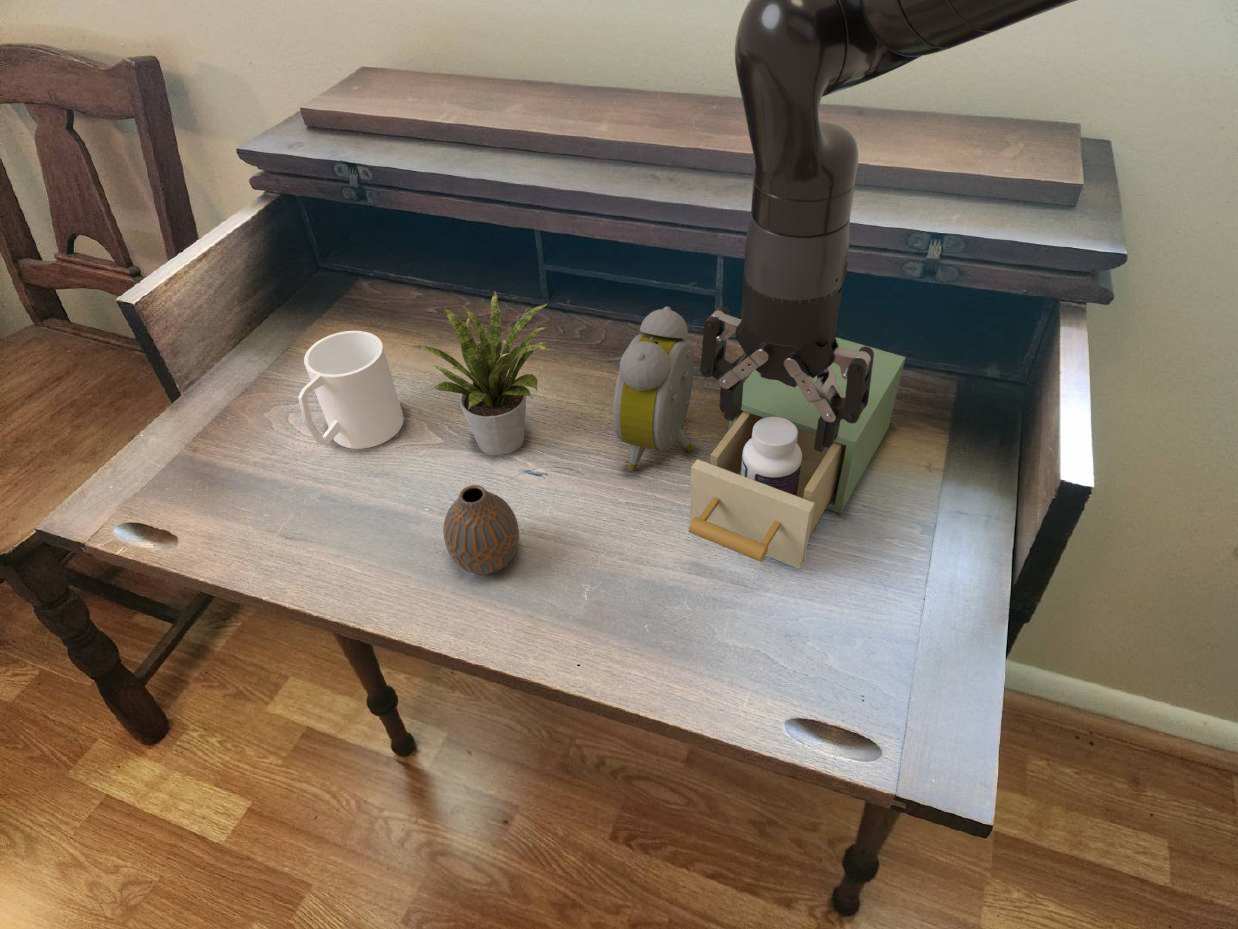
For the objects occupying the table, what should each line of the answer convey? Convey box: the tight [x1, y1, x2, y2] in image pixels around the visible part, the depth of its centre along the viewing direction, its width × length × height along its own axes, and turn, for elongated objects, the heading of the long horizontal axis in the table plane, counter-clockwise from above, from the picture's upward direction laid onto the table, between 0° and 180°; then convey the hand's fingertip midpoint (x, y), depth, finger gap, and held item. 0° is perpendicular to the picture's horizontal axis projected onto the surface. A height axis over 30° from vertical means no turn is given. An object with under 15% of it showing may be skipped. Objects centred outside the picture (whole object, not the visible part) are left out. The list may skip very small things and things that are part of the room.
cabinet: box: [727, 336, 906, 515], centre depth 85 cm, size 15×13×10 cm
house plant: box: [411, 290, 553, 456], centre depth 86 cm, size 14×14×16 cm
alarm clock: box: [612, 306, 695, 472], centre depth 85 cm, size 12×7×15 cm, turn 160°
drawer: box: [688, 411, 846, 570], centre depth 78 cm, size 18×11×8 cm, turn 149°
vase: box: [442, 484, 520, 575], centre depth 77 cm, size 7×7×9 cm
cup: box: [297, 330, 405, 450], centre depth 90 cm, size 8×12×10 cm
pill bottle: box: [741, 417, 802, 496], centre depth 77 cm, size 5×5×10 cm
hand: (776, 430), depth 74 cm, fingers open, 8 cm apart
